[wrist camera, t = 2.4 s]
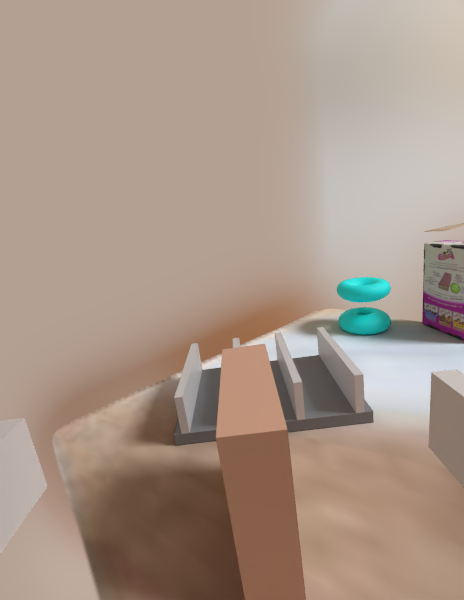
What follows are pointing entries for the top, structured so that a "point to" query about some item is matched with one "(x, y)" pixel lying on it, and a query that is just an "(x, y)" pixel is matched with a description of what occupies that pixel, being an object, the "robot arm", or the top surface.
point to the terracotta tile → (258, 476)
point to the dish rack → (290, 386)
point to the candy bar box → (444, 287)
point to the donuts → (364, 318)
